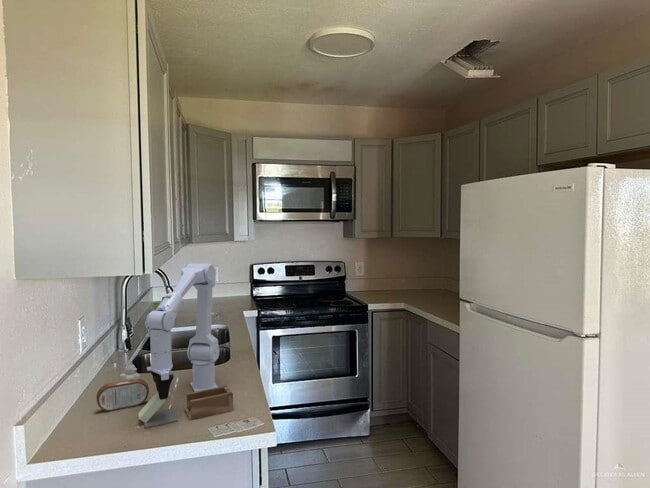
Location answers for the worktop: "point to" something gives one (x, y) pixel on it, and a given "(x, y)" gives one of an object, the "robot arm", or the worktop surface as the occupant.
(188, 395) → the pocket block
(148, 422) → the mat
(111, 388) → the tin
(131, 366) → the white tapered cone
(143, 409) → the sage bar
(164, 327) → the robot arm
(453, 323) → the worktop surface
